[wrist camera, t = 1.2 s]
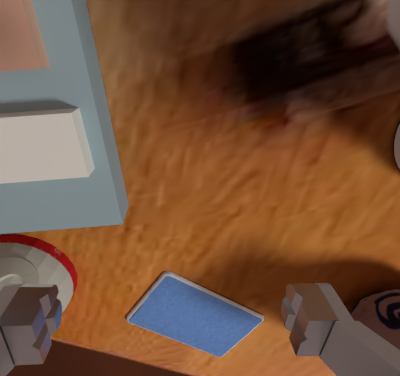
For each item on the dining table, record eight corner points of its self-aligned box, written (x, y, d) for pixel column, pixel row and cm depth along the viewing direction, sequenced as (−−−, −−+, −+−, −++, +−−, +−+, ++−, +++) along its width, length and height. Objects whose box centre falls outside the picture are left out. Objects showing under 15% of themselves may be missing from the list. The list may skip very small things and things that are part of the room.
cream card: (79, 107, 25) (71, 112, 24) (94, 168, 28) (88, 176, 26) (-22, 114, 25) (-38, 120, 23) (4, 175, 28) (-8, 184, 26)
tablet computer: (124, 315, 45) (123, 322, 44) (166, 266, 41) (165, 272, 40) (220, 352, 51) (220, 359, 50) (265, 312, 47) (267, 319, 46)
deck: (84, -8, 25) (67, -15, 21) (128, 205, 35) (122, 224, 31) (-78, 3, 24) (-122, -4, 21) (15, 214, 35) (-4, 234, 31)
